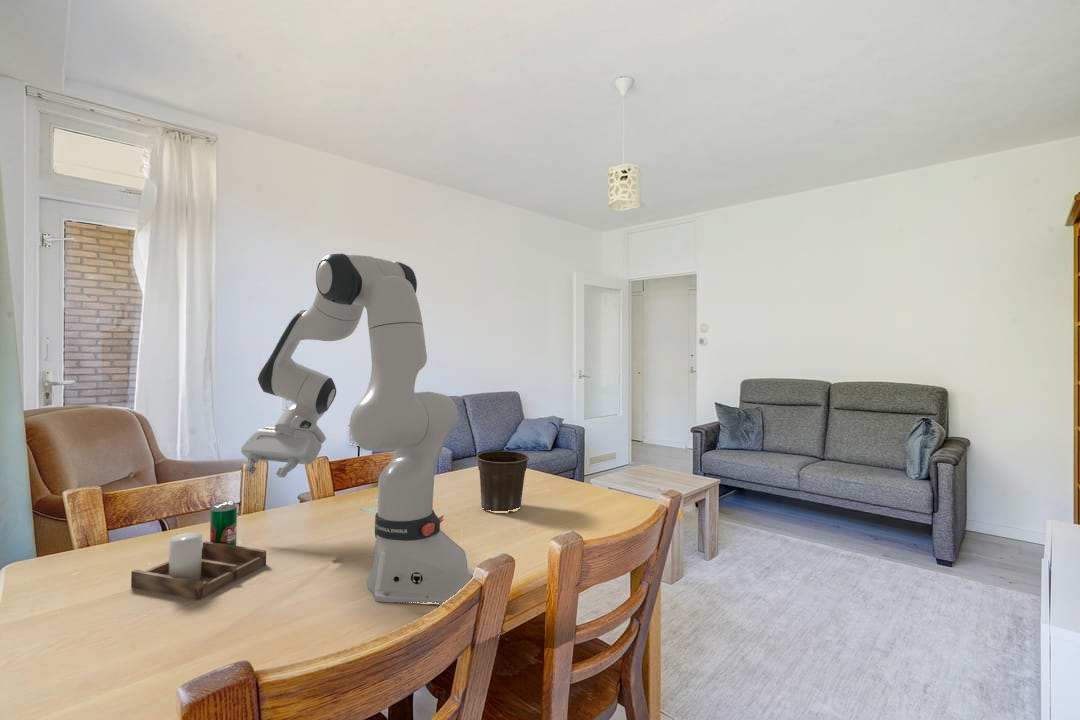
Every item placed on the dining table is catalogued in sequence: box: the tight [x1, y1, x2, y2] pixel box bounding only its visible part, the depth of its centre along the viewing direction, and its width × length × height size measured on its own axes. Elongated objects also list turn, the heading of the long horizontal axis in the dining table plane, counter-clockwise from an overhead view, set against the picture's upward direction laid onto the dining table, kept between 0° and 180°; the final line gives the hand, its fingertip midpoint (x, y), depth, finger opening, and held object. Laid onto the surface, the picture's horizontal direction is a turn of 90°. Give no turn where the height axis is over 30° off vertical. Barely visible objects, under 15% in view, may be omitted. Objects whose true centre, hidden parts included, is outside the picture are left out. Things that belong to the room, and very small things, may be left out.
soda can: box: [209, 500, 238, 546], centre depth 112 cm, size 5×5×12 cm
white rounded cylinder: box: [168, 532, 203, 581], centre depth 96 cm, size 5×5×9 cm
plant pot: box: [476, 450, 530, 511], centre depth 152 cm, size 16×16×16 cm
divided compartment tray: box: [130, 540, 267, 601], centre depth 100 cm, size 16×16×4 cm
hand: (263, 474), depth 122 cm, fingers open, 8 cm apart
